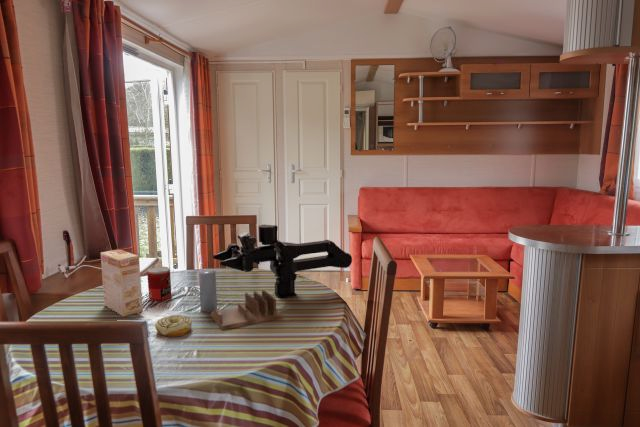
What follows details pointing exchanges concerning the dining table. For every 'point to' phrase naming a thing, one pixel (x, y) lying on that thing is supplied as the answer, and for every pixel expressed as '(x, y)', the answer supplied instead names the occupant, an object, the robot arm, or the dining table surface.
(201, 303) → the grey tall cylinder
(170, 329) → the decorated donut
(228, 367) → the dining table surface
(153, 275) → the canned food
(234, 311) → the rack
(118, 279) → the beige tall block
